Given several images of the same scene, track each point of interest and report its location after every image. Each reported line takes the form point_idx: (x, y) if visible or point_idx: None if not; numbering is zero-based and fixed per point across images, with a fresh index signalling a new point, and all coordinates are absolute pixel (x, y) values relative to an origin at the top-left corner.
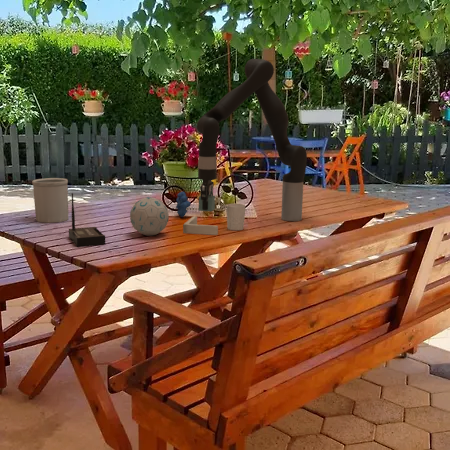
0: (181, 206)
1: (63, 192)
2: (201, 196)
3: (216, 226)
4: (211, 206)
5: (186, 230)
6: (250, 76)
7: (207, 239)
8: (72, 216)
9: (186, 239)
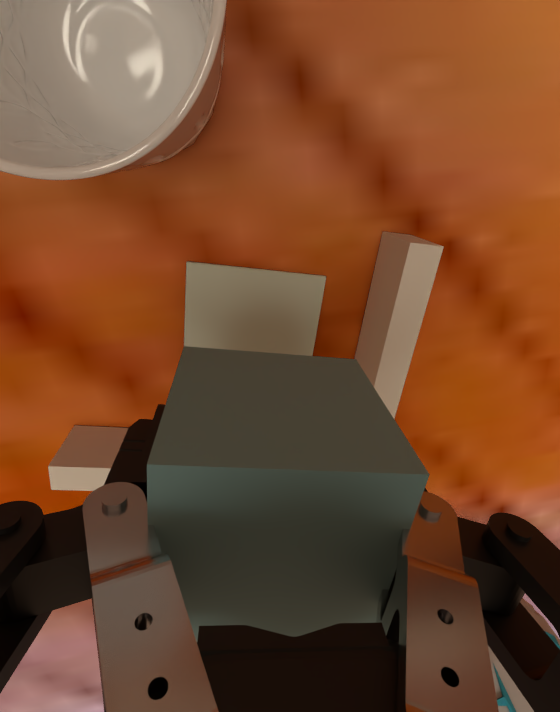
0: None
1: None
2: (543, 633)
3: (439, 253)
4: (374, 394)
5: None
6: None
7: (534, 289)
8: None
9: (516, 412)
